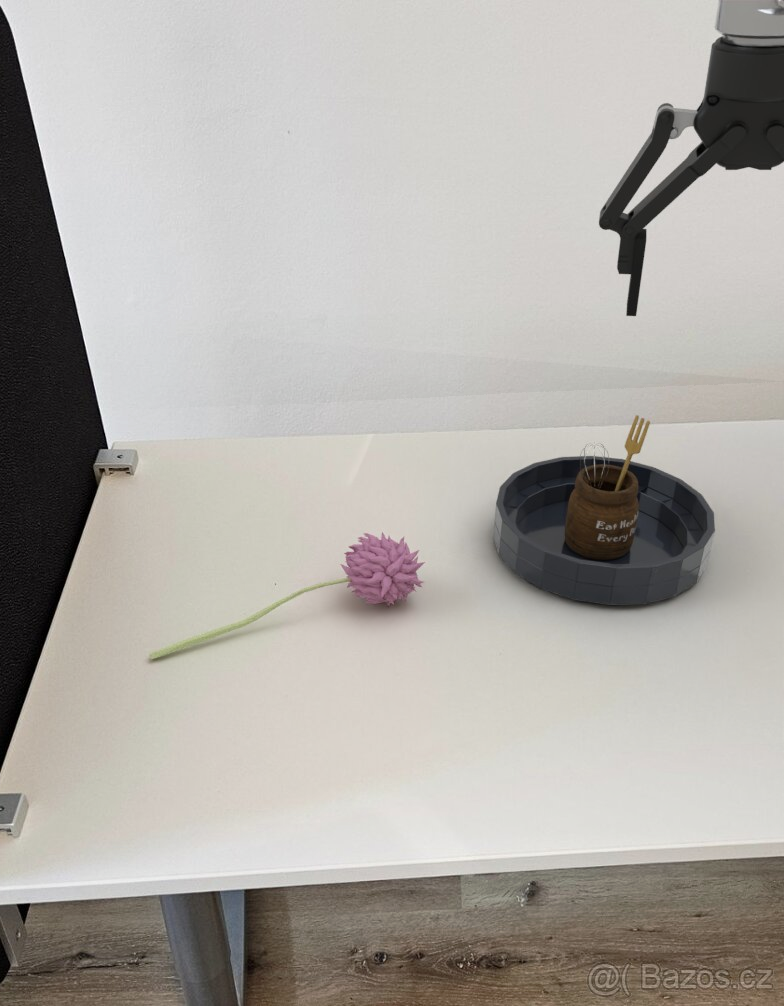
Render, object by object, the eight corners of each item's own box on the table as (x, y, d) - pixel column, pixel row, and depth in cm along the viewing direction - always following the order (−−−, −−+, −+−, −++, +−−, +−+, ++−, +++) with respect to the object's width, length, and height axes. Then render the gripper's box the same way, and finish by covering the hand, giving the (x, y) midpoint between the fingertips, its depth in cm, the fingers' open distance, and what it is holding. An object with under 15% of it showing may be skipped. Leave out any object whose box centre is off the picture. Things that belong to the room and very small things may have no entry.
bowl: (702, 508, 102) (711, 468, 100) (707, 626, 88) (718, 582, 86) (505, 485, 108) (509, 446, 106) (480, 591, 94) (484, 549, 92)
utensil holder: (548, 538, 99) (563, 424, 93) (599, 517, 101) (617, 404, 95) (597, 570, 94) (615, 452, 88) (649, 547, 97) (671, 431, 90)
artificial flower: (176, 717, 88) (444, 602, 92) (152, 648, 85) (430, 532, 89) (154, 678, 94) (407, 571, 98) (131, 612, 91) (392, 505, 95)
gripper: (582, 52, 78) (557, 324, 89) (992, 37, 69) (906, 340, 81) (587, 32, 84) (563, 290, 95) (965, 17, 75) (889, 302, 86)
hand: (720, 313), depth 88 cm, fingers open, 13 cm apart
